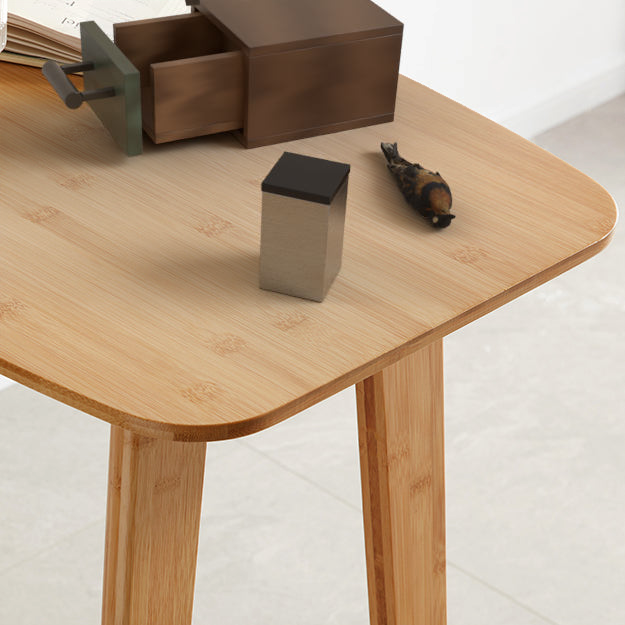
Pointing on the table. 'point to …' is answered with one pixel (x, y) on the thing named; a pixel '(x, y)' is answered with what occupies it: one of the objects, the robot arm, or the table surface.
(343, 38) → the cabinet
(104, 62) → the drawer
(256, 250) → the table surface
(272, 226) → the steel tin
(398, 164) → the bird model
